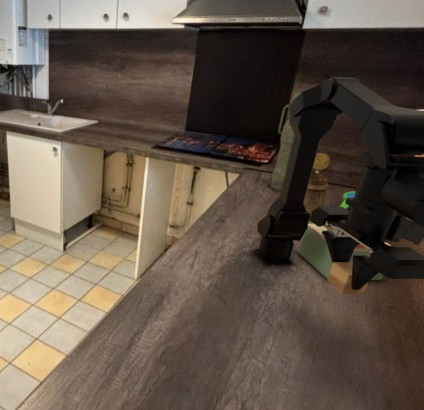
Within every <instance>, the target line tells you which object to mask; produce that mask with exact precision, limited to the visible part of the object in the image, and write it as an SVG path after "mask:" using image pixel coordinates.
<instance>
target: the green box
mask: <svg viewBox="0 0 424 410" xmlns="http://www.w3.org/2000/svg"><path fill="white" fill-rule="evenodd" d="M325 228H328V227H325ZM366 253H368V251H355V252H354V251H353V254H352V256H351V258H350V261H349V262H353V255H366ZM298 254H299V255H300V256H302V257H303V258H304V259H305V260H306V261H307V262H308V263H309V264H311V266H313V268H315V269H316V270H317V271H318V272H319V273H320V274H322V275H323V277H325V278H326V280H327V279H328V276H329V273H330V270H331V267H332V260H331V256H330V253H329V249H328V246H327V243H326V241H325V240H323V239H322V238H321V237H319V236H318V235H317V234H315V233H314V232H313V231H311V230H310V229H309V228H307V230H306V232H305V233H304V235H303V237H302V238H301V243H300V246H299V250H298ZM384 277H385V276H384V275H382V274H381V273H378V274H377V275H376V276H375V277H373V278H372V279H371V280H370V281H383V278H384Z"/></svg>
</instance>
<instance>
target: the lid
mask: <svg viewBox="0 0 424 410" xmlns="http://www.w3.org/2000/svg"><path fill="white" fill-rule="evenodd" d="M325 227H328V224H327V222H326V224H325V225H324V226H322V227H318V226H316V225H315V224H314V223H308V228H309V229H310V230H311V231H313V232H314V233H315V234H317V235H318V236H319V237H321V238H322V239H323V240H325V237H324V236H323V235H322V231H327V228H325ZM325 241H326V240H325ZM385 244H387V245H389V246H392V245H391V244H389V243H388V242H387V241H386V242H385ZM355 251H369V249H367V248H355V249H354V252H355Z"/></svg>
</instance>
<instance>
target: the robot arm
mask: <svg viewBox="0 0 424 410" xmlns="http://www.w3.org/2000/svg"><path fill="white" fill-rule="evenodd" d="M302 91H303V92H302V93H301V94H300V95H298V96H297V97H296V98H295V99H294V100H293V101H292V103H291V102H290V104H291V105H290V108H289V109H290V120H289V123H290V125H291V128H292V130H293V132H294V140H293V144H292V148H291V153H290V157H289V161H288V165H287V169H286V173H285V178H284V182H283V186H282V190H281V191H280V194H279V197H278V198H277V199H276V200H275V201H273V202H272V204H271V205H270V206H269V208H268V211H267V214H266V215H265V216H264V217H263V218H261V219H260V220H258V222H257V229H256V230H257V231H256V232H258V234H259V235H260V236H261V238H260V242H259V245H258V246H259V247H258V248H254V252H255V253H256V254H257V256H258V257H259V258H260V259H261V260H262V261H263V263H265V264H267V265H291V264H293V260H291V258H292V257H291V256H292V253H293V249H294V246H295V243H294V241H297V242H300V241H302V239H303V235H304V233H305V232H306V230H307V228H308V224H309V222H311V224H315V225H316V226H318V227H322V226H324V225H325V224H326V223H327V224H328V228H327V231H322V235H323V236H324V237H325V240H326V243H327V246H328V249H329V253H330V256H331V260H332V264H333V262H349V261H350V258H351V256H352V254H353V251H354V249H355V247H356V246H358V245H359V244H361V245H363V246H364V247H365V248H367V249H369V251H368V253H366V255H353V264H352V280H351V283H352V289H353V290H360V289H361V288H362V287H363V286H364V285H365V284H367V283H368V284H369V283H370V281H372V280H371V279H372V278H373V277H375V276H376V275H377V274H378V273H381V274H382V275H384V276H383V277H385V278H388V279H391V280H424V255H423V254H421V253H420V252H418V251H416V250H415V249H413V248H411V247H410V246H393V245H391V246H389V245H390V244H389V245H387V244H385V242H386V243H387V241H390V242H392V243H397V242H401V239H403V240H405V241H408V242H411V243H412V244H413V245H415V246H419V245H420V244H421V243H422V242H423V241H424V111H423V110H419V109H415V108H407V107H403V106H398V105H394V104H393V103H392V102H390V101H388V100H386V99H385V98H384V97H382V96H381V95H379V94H377V93H376V92H374V91H373V90H371V88H368V87H367V86H365V85H364V84H362V83H361V81H360V79H358V78H355V77H331V78H327V79H325V80H324V81H323V82H322V83H321V84H318V85H316V86H313V87H310V88H308V89H306V90H302ZM342 114H344V115H346V116H347V117H348V118H349V119H350V120H352V122H354V123H355V124H356V125H357V126H358V127H359V128H360V129H361V132H360V135H359V138H360V140H361V141H362V143H363V144H364V146H366V148H367V150H368V151H366V152H364V153H362V154H360V155H359V156H358V160H359V161H361V162H363V163H365V164H364V167H363V170H362V173H361V176H360V178H359V181H358V185H357V188H356V190H355V192H356V193H355V196H354V198H347V199H346V202H345V204H347V205H349V206H350V207H351V208H350V211H348V210H347V209H345V208H343V207H340V206H325V207H317V208H316V209H315V210H313V211H312V213H311V216H310V214H309V213H308V212H307V210H306V208H305V206H304V199H305V195H306V191H307V188H308V184H309V180H310V177H311V175H312V172H313V170H312V169H313V165H314V162H315V158H316V154H317V152H319V151H318V150H319V146H320V143H321V140H322V138H324V137H325V136H326V135H327V134H328V133H329V132H330V131H331V130H332V129H333V128H334V126H335V123H336V121H337V119H338V117H339V116H340V115H342Z"/></svg>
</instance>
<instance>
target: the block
mask: <svg viewBox="0 0 424 410" xmlns="http://www.w3.org/2000/svg"><path fill="white" fill-rule="evenodd" d="M352 264H353V262H333V264H332V267H331V270H330V273H329V276H328V279H327V278H326V281H327V282H328V283H329V284H330V285H331V286H332V287H334V289H336V290H337V292H339V293H340V294H341V295H357V294H358V295H363V294H365V292H366V289H367V287H368V285H369V282H368V283H367V284H365V285H364V286H363V287H362V288H361V289H360V290H353V289H352V283H351V280H352Z"/></svg>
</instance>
